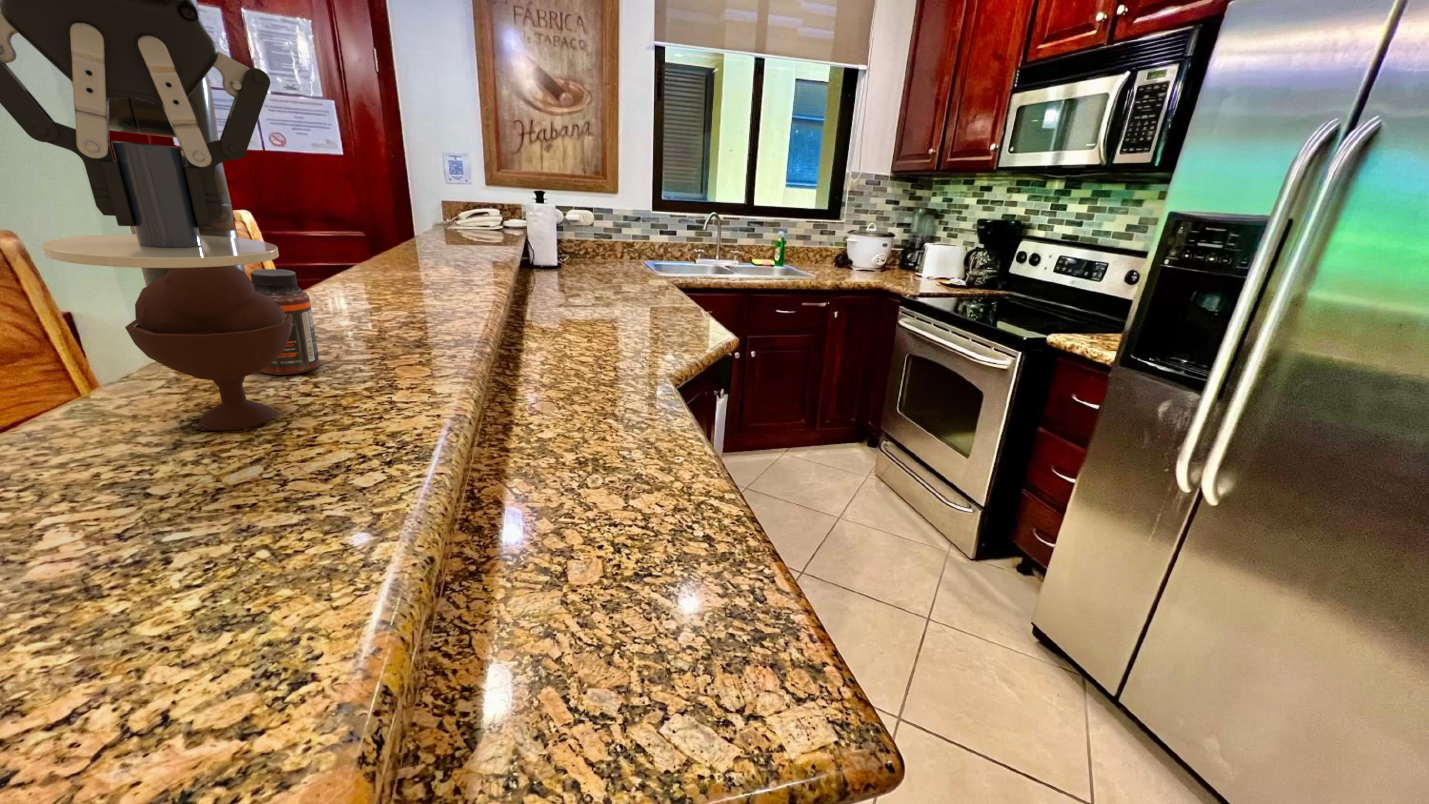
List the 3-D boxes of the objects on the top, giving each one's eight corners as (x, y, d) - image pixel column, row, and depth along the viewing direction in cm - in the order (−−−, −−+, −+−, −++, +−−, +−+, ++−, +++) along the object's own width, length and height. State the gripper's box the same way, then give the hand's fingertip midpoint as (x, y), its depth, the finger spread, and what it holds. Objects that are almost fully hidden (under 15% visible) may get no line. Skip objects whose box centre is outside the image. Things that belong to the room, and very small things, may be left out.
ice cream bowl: (335, 405, 57) (312, 256, 51) (237, 451, 46) (194, 270, 41) (239, 392, 57) (206, 243, 52) (120, 435, 47) (63, 254, 41)
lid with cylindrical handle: (55, 241, 36) (19, 130, 34) (267, 244, 43) (250, 152, 41) (32, 269, 29) (-15, 130, 26) (291, 267, 36) (273, 158, 34)
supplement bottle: (250, 377, 61) (228, 274, 57) (265, 361, 66) (246, 266, 62) (315, 375, 63) (298, 276, 59) (325, 360, 68) (310, 268, 64)
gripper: (245, -48, 36) (291, 224, 43) (-123, -154, 27) (3, 214, 33) (261, -76, 31) (309, 236, 38) (-183, -216, 22) (-22, 229, 28)
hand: (165, 224), depth 35 cm, fingers closed on lid with cylindrical handle, 3 cm apart
